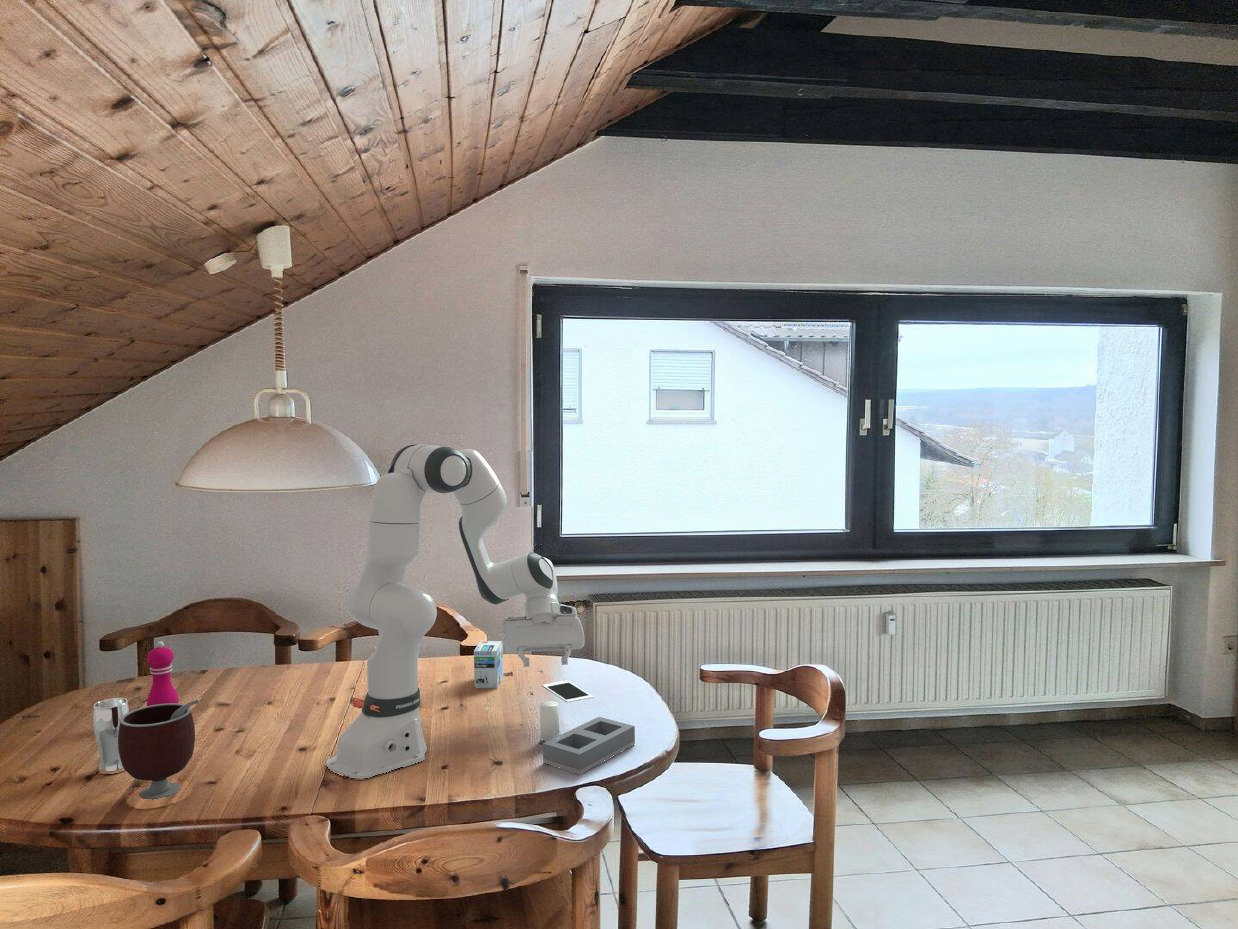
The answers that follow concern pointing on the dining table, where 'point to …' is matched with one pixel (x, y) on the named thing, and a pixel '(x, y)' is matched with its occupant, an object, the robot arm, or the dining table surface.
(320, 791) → the dining table surface
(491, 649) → the light bulb box
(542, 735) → the plug
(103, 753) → the beer glass
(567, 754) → the socket block
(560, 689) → the cell phone
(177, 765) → the mate gourd
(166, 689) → the pepper mill
